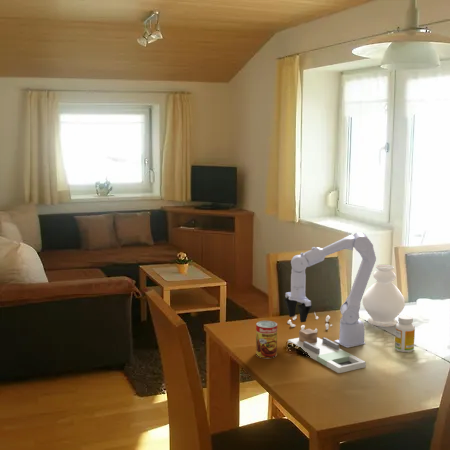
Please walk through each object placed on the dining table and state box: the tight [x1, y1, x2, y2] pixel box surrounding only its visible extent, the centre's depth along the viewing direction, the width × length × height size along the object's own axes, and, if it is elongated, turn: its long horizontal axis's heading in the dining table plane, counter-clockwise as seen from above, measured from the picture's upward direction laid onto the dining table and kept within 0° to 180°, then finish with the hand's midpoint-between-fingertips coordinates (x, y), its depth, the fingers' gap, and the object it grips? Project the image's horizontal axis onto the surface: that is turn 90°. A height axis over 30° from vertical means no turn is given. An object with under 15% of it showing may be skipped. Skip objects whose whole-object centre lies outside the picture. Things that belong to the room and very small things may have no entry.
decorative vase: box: [362, 263, 406, 328], centre depth 275 cm, size 18×18×25 cm
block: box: [298, 328, 318, 343], centre depth 247 cm, size 5×5×4 cm
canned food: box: [255, 320, 278, 358], centre depth 238 cm, size 8×8×12 cm
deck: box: [287, 336, 367, 374], centre depth 238 cm, size 12×32×4 cm, turn 28°
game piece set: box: [287, 312, 333, 333], centre depth 273 cm, size 19×20×4 cm
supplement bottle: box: [394, 314, 416, 353], centre depth 243 cm, size 7×7×13 cm
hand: (297, 319), depth 251 cm, fingers open, 7 cm apart
